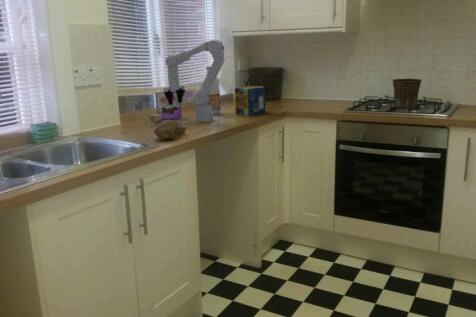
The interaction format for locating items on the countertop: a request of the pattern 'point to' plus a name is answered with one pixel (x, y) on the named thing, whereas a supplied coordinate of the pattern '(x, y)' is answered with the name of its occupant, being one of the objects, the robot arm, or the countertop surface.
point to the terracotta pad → (167, 121)
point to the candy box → (167, 106)
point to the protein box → (250, 100)
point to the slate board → (173, 120)
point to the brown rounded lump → (169, 130)
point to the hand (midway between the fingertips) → (175, 103)
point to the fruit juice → (214, 96)
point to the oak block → (155, 119)
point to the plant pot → (406, 92)
